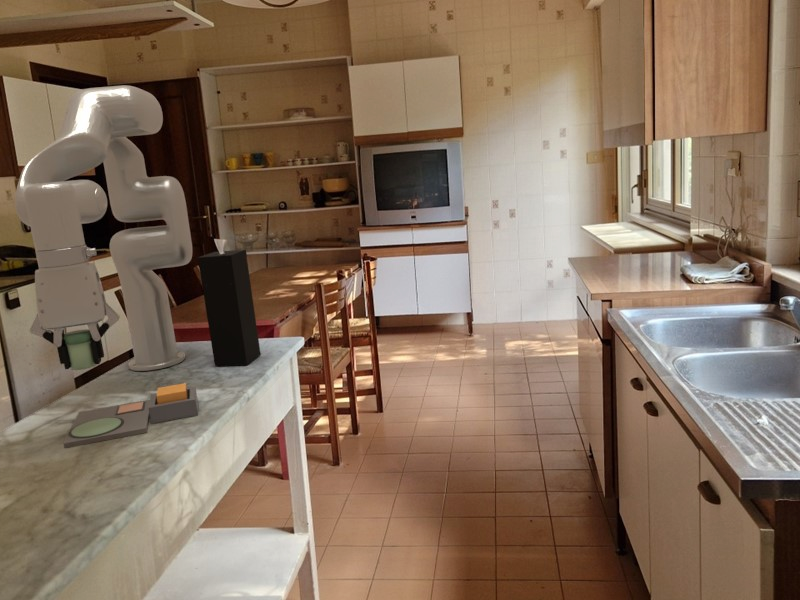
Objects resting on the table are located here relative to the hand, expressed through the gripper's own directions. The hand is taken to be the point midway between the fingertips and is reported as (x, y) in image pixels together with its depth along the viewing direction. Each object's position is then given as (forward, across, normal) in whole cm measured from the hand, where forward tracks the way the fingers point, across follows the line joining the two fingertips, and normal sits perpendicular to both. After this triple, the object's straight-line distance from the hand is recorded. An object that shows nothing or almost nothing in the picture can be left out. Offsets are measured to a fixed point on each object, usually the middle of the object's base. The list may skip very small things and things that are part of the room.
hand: (83, 363), depth 117 cm
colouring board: (+12, -2, -3) cm, 13 cm away
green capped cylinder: (0, 0, 0) cm, 0 cm away
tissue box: (+12, -26, -31) cm, 43 cm away
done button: (+10, -13, -3) cm, 17 cm away
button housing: (+12, -13, -3) cm, 18 cm away
